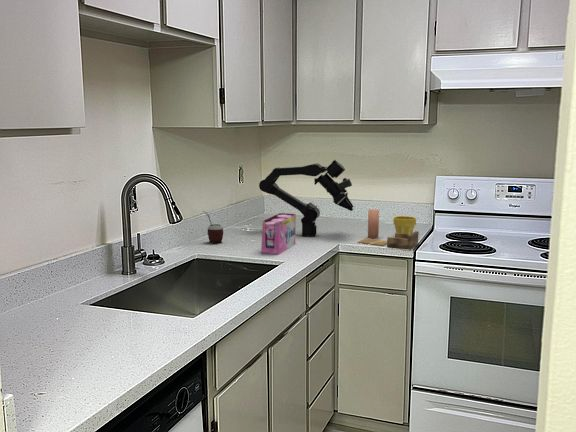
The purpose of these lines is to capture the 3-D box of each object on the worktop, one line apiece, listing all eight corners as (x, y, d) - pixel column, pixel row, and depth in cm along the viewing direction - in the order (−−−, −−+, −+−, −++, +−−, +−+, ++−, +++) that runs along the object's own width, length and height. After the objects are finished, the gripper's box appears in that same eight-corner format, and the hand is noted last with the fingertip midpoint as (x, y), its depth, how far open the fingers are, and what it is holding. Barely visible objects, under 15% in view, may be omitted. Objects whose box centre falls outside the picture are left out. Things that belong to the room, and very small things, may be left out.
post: (370, 238, 262) (371, 211, 260) (365, 236, 267) (366, 209, 265) (380, 238, 264) (381, 210, 262) (375, 235, 269) (375, 209, 266)
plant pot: (394, 235, 272) (395, 215, 270) (416, 236, 269) (417, 216, 267) (391, 239, 262) (392, 218, 260) (414, 240, 259) (415, 219, 257)
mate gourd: (225, 241, 253) (225, 208, 251) (219, 245, 246) (218, 211, 243) (210, 240, 255) (210, 208, 253) (203, 244, 248) (202, 210, 245)
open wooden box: (386, 247, 245) (387, 233, 244) (395, 242, 255) (395, 229, 254) (410, 249, 240) (411, 236, 239) (417, 244, 251) (418, 231, 250)
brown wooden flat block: (380, 254, 248) (356, 243, 253) (388, 249, 256) (365, 240, 262) (383, 245, 246) (359, 235, 252) (391, 241, 255) (368, 231, 260)
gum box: (277, 255, 228) (278, 222, 226) (259, 254, 231) (259, 221, 229) (295, 243, 251) (296, 213, 248) (279, 242, 253) (279, 212, 251)
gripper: (341, 174, 252) (365, 199, 253) (342, 171, 270) (365, 194, 271) (323, 191, 254) (347, 216, 255) (326, 187, 273) (348, 210, 273)
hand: (352, 208), depth 263 cm, fingers open, 9 cm apart
